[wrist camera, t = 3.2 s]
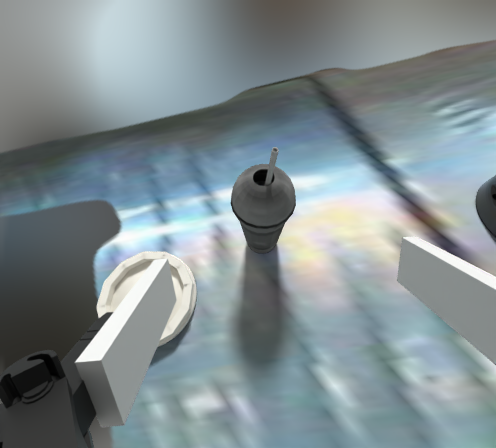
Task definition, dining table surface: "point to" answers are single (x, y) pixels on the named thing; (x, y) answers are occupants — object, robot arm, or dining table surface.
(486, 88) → the dining table surface
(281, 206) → the beverage cup
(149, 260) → the plate
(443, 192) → the dining table surface
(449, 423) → the dining table surface
